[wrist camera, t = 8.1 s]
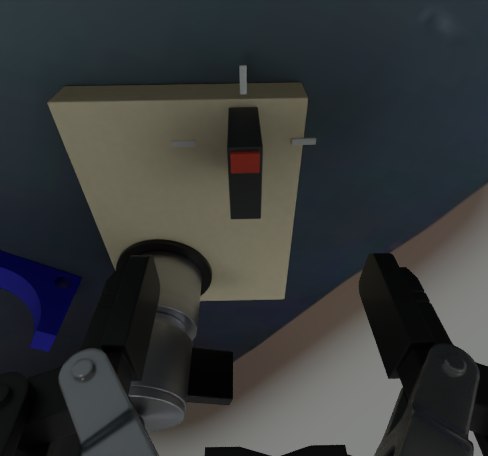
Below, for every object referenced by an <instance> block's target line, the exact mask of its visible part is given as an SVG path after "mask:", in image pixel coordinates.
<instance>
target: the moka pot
mask: <svg viewBox="0 0 488 456" xmlns="http://www.w3.org/2000/svg"><path fill="white" fill-rule="evenodd" d="M140 255H152V256H153V258H154V261H155V265H156V269H157V273H158V277H159V281H160V297H159V302H158V306H157V311H156V316H155V320H154V325H153V330H152V334H151V339H150V344H149V348H148V353H147V358H146V362H145V367H144V372H143V376H142V381H132V382H131V386H130V390H129V394H128V396H129V398H130V400H131V402H132V404H133V406H134V408H135V409H136V411H137V413H138V415H139V417H140V419H141V421H142V423H143V425H144V427H145V429H146V431H156V430H162V429H167V428H171V427H173V426H176V425H178V424H179V423H181V422H182V421H183V419H184V416H185V409H186V405H187V402H194V403H206V404H218V405H230V403H231V401H232V399H233V352H231V351H222V350H213V349H204V348H195V347H193V345H192V340H193V339H194V338H195V336H196V334H197V326H198V315H199V305H200V294H201V284H202V275H201V272H200V270H199V268H198V267H197V266H196V265H195V263H193V262H192V261H191V260H189V259H188V258H186V257H184V256H182V255H179V254H176V253H173V252H168V251H151V252H146V253H143V254H140Z"/></svg>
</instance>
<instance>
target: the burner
mask: <svg viewBox="0 0 488 456" xmlns="http://www.w3.org/2000/svg"><path fill="white" fill-rule="evenodd" d="M151 251H168V252H173V253H176V254H179V255H182V256H184V257H186V258H188V259H189V260H191V261H192V262H193V263H195V265H196V266H197V267H198V268H199V270H200V272H201V275H202V284H201V294H200V296H201V295H203V294H204V293H205V292H206V291H207V290H208V288H209V287H210V284H211V281H212V270H211V267H210V264H209V263H208V261H207V259H206V258H205V257H204V256H203V255H202V254H201V253H200V252H198V251H197V250H195V249H194V248H192V247H190V246H188V245H185V244H183V243H180V242H176V241H171V240H164V239H154V240H146V241H141V242H138V243H135V244H133V245H131V246H130V247H128V248H127V249H125V250H124V251H123V252H122V253H121V255H120V256H119V258H118V261H117V264H116V270H126V267H127V264H128V261H129V258H130V256H131V255H140V254H143V253H146V252H151Z"/></svg>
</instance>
